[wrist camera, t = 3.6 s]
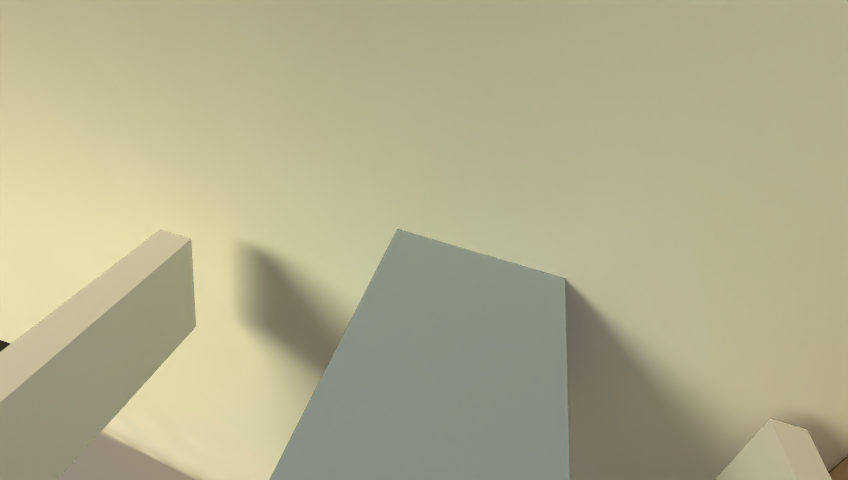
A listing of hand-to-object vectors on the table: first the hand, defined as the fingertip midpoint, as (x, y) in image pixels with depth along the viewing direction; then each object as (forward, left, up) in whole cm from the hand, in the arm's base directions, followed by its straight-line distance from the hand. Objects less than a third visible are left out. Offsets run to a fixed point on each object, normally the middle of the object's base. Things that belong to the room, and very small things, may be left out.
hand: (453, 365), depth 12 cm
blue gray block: (0, 0, -2) cm, 2 cm away
